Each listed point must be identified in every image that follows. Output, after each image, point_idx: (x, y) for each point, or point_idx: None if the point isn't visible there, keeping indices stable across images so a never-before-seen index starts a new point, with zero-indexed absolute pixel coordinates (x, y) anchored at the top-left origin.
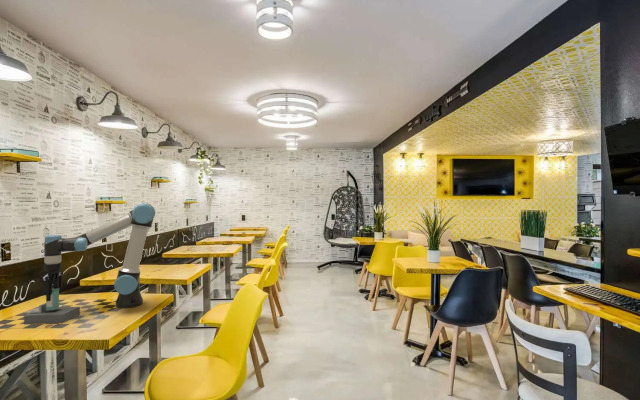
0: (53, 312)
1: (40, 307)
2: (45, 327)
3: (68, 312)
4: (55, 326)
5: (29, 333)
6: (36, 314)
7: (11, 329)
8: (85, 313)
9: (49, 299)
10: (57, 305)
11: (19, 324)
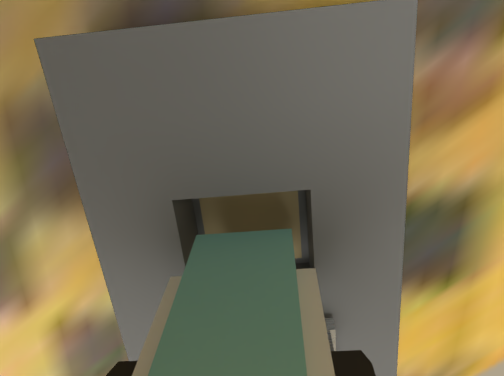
0: None
1: None
2: (497, 97)
3: (291, 11)
4: (486, 6)
5: None
6: (371, 326)
7: (487, 339)
8: (28, 4)
9: (359, 371)
10: (216, 255)
11: None
